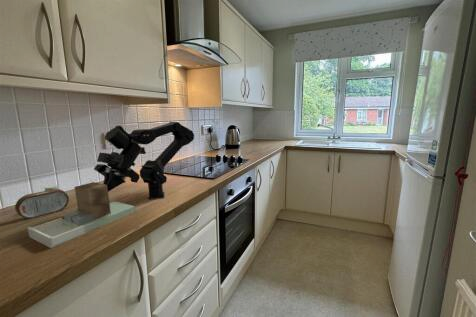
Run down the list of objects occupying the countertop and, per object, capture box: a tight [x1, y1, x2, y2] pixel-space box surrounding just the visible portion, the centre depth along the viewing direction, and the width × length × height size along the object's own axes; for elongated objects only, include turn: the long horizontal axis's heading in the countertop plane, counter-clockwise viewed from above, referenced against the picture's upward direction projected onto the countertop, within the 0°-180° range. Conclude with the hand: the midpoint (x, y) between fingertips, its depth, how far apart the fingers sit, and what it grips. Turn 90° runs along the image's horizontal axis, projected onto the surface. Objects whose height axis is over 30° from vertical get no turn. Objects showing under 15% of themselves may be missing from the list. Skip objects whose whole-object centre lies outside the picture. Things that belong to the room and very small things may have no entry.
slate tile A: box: [72, 212, 93, 226], centre depth 74 cm, size 4×4×2 cm
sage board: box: [62, 200, 136, 234], centre depth 81 cm, size 18×12×2 cm, turn 150°
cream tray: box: [27, 217, 86, 249], centre depth 70 cm, size 9×13×3 cm, turn 60°
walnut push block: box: [74, 181, 111, 220], centre depth 78 cm, size 6×8×10 cm
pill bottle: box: [44, 184, 59, 191], centre depth 92 cm, size 5×5×8 cm
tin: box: [14, 188, 70, 219], centre depth 85 cm, size 15×3×8 cm, turn 141°
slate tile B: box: [63, 209, 84, 223], centre depth 76 cm, size 4×4×2 cm
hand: (102, 193), depth 81 cm, fingers closed
